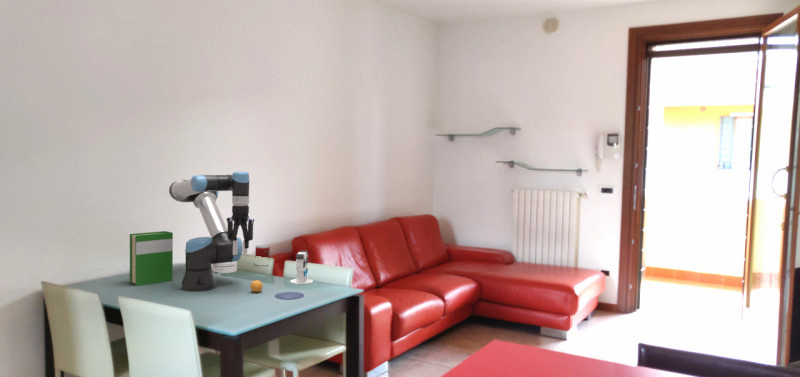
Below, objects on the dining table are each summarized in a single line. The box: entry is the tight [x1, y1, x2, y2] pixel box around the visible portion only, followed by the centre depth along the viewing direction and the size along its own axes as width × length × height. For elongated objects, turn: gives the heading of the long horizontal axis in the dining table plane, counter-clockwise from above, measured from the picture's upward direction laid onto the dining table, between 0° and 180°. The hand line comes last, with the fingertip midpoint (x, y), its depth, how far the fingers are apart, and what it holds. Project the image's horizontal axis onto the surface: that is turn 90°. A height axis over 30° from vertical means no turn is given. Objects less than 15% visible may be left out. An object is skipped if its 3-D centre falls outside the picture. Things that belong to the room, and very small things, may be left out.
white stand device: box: [289, 250, 314, 285], centre depth 291 cm, size 12×11×15 cm
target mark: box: [274, 291, 305, 300], centre depth 262 cm, size 13×13×1 cm
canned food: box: [255, 244, 271, 258], centre depth 331 cm, size 8×8×11 cm
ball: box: [250, 279, 264, 293], centre depth 267 cm, size 6×6×6 cm
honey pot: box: [212, 261, 238, 274], centre depth 313 cm, size 13×13×18 cm
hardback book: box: [129, 230, 174, 287], centre depth 281 cm, size 18×7×24 cm, turn 137°
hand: (240, 254), depth 269 cm, fingers open, 4 cm apart
